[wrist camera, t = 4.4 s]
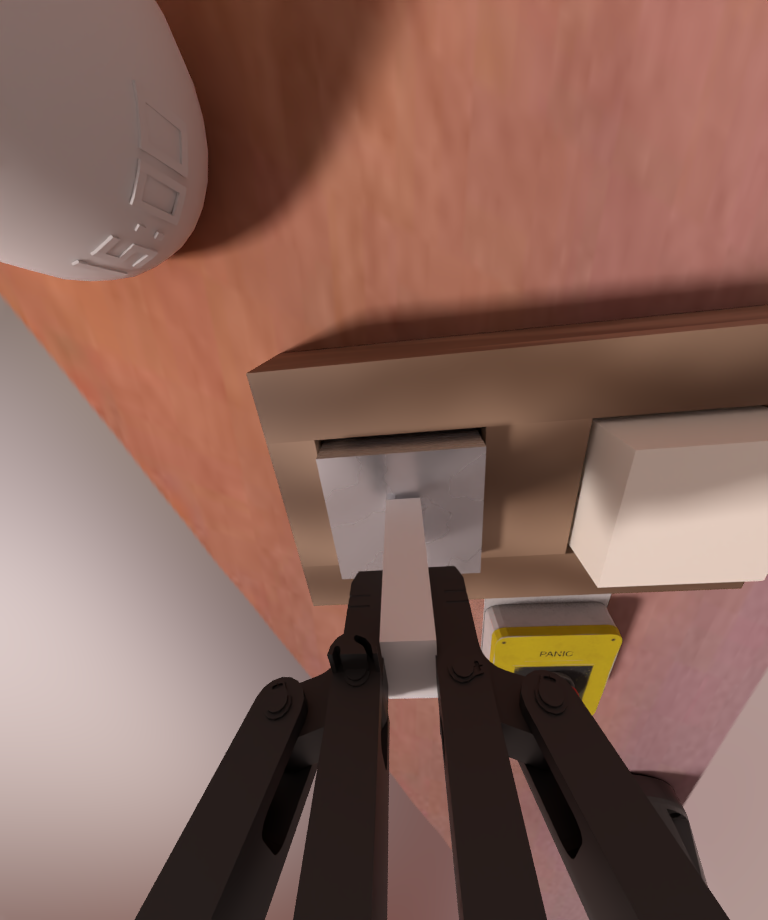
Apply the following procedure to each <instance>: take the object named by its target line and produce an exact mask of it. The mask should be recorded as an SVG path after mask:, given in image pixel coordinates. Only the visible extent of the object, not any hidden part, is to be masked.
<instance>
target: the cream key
mask: <svg viewBox="0 0 768 920" xmlns="http://www.w3.org/2000/svg"><path fill="white" fill-rule="evenodd" d="M568 544H569V545H570V547H571V548H572V550H573V551H574V553H575V554H576V556H577V557H578V559H579V560H580V562H581V563H582V565H583V566H584V568H585V569H586V571H587V572H588V574H589V575H590V577H591V578H592V580H593V581H594V583H595V584H596V586H597V587H598V588H603V587H626V586H650V585H674V584H697V583H721V582H745V581H764V579H765V577H766V576H767V574H768V407H765V406H762V405H756V406H743V407H730V408H718V409H705V410H692V411H680V412H667V413H654V414H642V415H629V416H616V417H604V418H593V419H592V424H591V429H590V434H589V439H588V444H587V449H586V454H585V458H584V463H583V468H582V473H581V478H580V483H579V488H578V493H577V498H576V503H575V508H574V513H573V518H572V523H571V528H570V533H569V538H568Z"/></svg>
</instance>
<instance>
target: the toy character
mask: <svg viewBox="0 0 768 920" xmlns="http://www.w3.org/2000/svg"><path fill="white" fill-rule="evenodd" d="M207 183H208V147H207V140H206V133H205V126H204V119H203V115H202V112H201V108H200V105H199V101H198V98H197V94H196V91H195V87H194V84H193V82H192V79H191V77H190V75H189V72H188V70H187V67H186V65H185V63H184V60H183V58H182V56H181V53H180V51H179V49H178V46H177V44H176V42H175V39H174V37H173V35H172V32H171V30H170V28H169V25H168V23H167V21H166V18H165V16H164V14H163V13H162V11H161V9H160V7H159V6H158V4H157V2H156V1H155V0H0V261H1V262H3V263H6V264H10V265H13V266H17V267H21V268H24V269H28V270H32V271H35V272H39V273H43V274H47V275H50V276H54V277H58V278H62V279H69V280H83V281H103V280H116V279H122V278H128V277H134V276H137V275H139V274H141V273H143V272H145V271H148V270H150V269H152V268H154V267H156V266H157V265H159V264H161V263H162V262H164V261H165V260H167V259H168V258H169V257H171V256H172V255H173V254H174V253H175V252H177V251H178V250H179V249H180V248H181V247H182V246H183V245H184V243H185V242H186V241H187V239H188V238H189V236H190V235H191V233H192V232H193V231H194V229H195V226H196V224H197V221H198V219H199V216H200V214H201V211H202V209H203V205H204V200H205V194H206V189H207Z"/></svg>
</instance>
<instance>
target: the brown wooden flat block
mask: <svg viewBox="0 0 768 920" xmlns="http://www.w3.org/2000/svg"><path fill="white" fill-rule="evenodd" d="M246 374H247V378H248V381H249V385H250V388H251V392H252V395H253V398H254V402H255V405H256V409H257V412H258V416H259V419H260V423H261V426H262V429H263V433H264V436H265V440H266V443H267V447H268V450H269V454H270V457H271V461H272V464H273V467H274V471H275V474H276V478H277V481H278V485H279V488H280V492H281V495H282V498H283V502H284V505H285V509H286V512H287V516H288V519H289V523H290V526H291V530H292V533H293V536H294V540H295V543H296V547H297V550H298V554H299V557H300V561H301V564H302V567H303V571H304V574H305V578H306V581H307V585H308V588H309V592H310V595H311V599H312V602H313V605H314V606H321V605H345V604H348V602H349V598H350V596H349V595H350V589H351V583H352V581H353V579H342V576H341V572H340V567H339V562H338V558H337V553H336V549H335V544H334V540H333V535H332V531H331V526H330V522H329V517H328V512H327V508H326V503H325V499H324V494H323V490H322V485H321V481H320V476H319V471H318V467H317V462H316V458H317V456H318V453H319V451H320V449H321V447H322V445H323V443H324V440H325V439H338V438H350V437H363V436H376V435H388V434H401V433H414V432H426V431H439V430H452V429H464V428H476V429H477V431H478V432H479V434H480V436H481V438H482V440H483V441H484V443H485V445H486V464H485V485H484V506H483V527H482V549H481V570H480V573H466V574H462V576H463V578H464V582H465V586H466V592H467V595H468V599H492V598H517V597H541V596H566V595H590V594H615V593H639V592H664V591H688V590H713V589H737V588H742V586H743V584H744V582H721V583H697V584H674V585H650V586H626V587H603V588H598V587H597V586H596V584H595V583H594V581H593V580H592V578H591V577H590V575H589V574H588V572H587V571H586V569H585V568H584V566H583V565H582V563H581V562H580V560H579V559H578V557H577V556H576V554H575V553H574V551H573V550H572V548H571V547H570V545H569V544H568V538H569V533H570V528H571V523H572V518H573V513H574V508H575V503H576V498H577V493H578V488H579V483H580V478H581V473H582V468H583V463H584V458H585V454H586V449H587V444H588V439H589V434H590V429H591V424H592V419H593V418H604V417H616V416H629V415H642V414H654V413H667V412H680V411H692V410H705V409H718V408H730V407H743V406H756V405H762V406H765V407H768V305H759V306H749V307H739V308H729V309H719V310H709V311H699V312H689V313H679V314H669V315H659V316H649V317H639V318H629V319H619V320H609V321H599V322H589V323H579V324H569V325H559V326H549V327H539V328H529V329H519V330H509V331H499V332H489V333H479V334H469V335H459V336H449V337H439V338H429V339H419V340H409V341H399V342H389V343H379V344H369V345H359V346H349V347H339V348H329V349H319V350H308V351H298V352H288V353H280V354H278V355H276V356H275V357H273V358H271V359H270V360H268V361H266V362H265V363H263V364H261V365H260V366H258V367H256V368H255V369H253V370H251V371H250V372H248V373H246Z"/></svg>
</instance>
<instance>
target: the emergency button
mask: <svg viewBox="0 0 768 920" xmlns="http://www.w3.org/2000/svg"><path fill="white" fill-rule="evenodd" d="M610 596H611V594H590V595H566V596H541V597H517V598H492V599H485V601H484V615H483V628H482V642H481V651H482V652H483V654H484V655H485V657H486V658H487V659H488V660H489V661H490V662H491V663H493V664H494V665H496V666H497V667H499V668H501V669H504V670H506V671H509V672H513V673H516V674H519V675H522V676H526V675H527V674H529V673H530V672H532V671H534V670H547V671H550V672H553V673H556V674H557V675H559V676H560V677H562V678H563V679H565V680H566V681H567V682H568V683H569V684H570V685H571V686H572V688H573V689H574V690H575V691H576V693H577V694H578V696H579V697H580V699H581V700H582V702H583V703H584V704H585V706H586V707H587V709H588V710H589V712H590V713H591V715H593V714H594V713H595V711H596V709H597V706H598V704H599V701H600V698H601V696H602V693H603V691H604V688H605V685H606V683H607V680H608V678H609V675H610V672H611V670H612V667H613V665H614V662H615V659H616V657H617V654H618V652H619V649H620V646H621V644H622V637H621V635H620V632H619V630H618V628H617V627H616V625H615V624H614V622H613V620H612V618H611V616H610V614H609V612H608V610H607V606H608V603H609V599H610Z"/></svg>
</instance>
